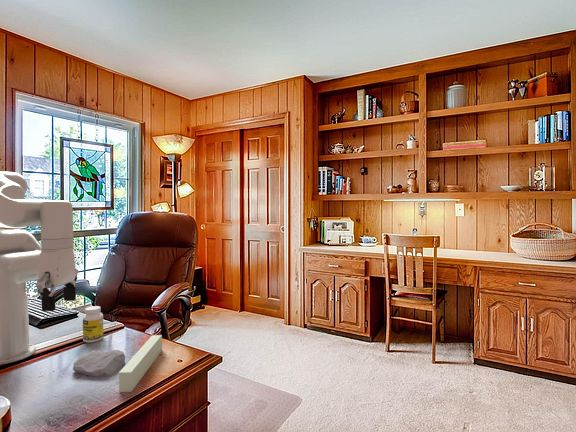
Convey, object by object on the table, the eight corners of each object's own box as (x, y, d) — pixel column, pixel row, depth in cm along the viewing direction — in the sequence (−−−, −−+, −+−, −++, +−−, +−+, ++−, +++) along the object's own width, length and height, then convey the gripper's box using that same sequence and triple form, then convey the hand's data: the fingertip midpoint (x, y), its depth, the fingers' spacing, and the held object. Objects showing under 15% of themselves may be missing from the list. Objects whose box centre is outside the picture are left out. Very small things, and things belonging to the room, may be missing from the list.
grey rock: (109, 384, 94) (128, 360, 104) (106, 369, 93) (126, 346, 103) (68, 383, 95) (91, 360, 105) (64, 368, 94) (88, 346, 104)
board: (119, 392, 87) (118, 372, 87) (152, 350, 111) (152, 335, 111) (131, 391, 87) (131, 372, 87) (162, 350, 111) (161, 335, 111)
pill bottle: (79, 343, 117) (78, 310, 116) (89, 336, 123) (88, 305, 122) (97, 343, 117) (97, 310, 116) (107, 335, 123) (106, 305, 122)
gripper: (62, 241, 105) (64, 297, 106) (21, 249, 88) (24, 315, 88) (87, 240, 105) (89, 296, 106) (52, 248, 88) (54, 315, 89)
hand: (59, 305), depth 97 cm, fingers open, 9 cm apart
